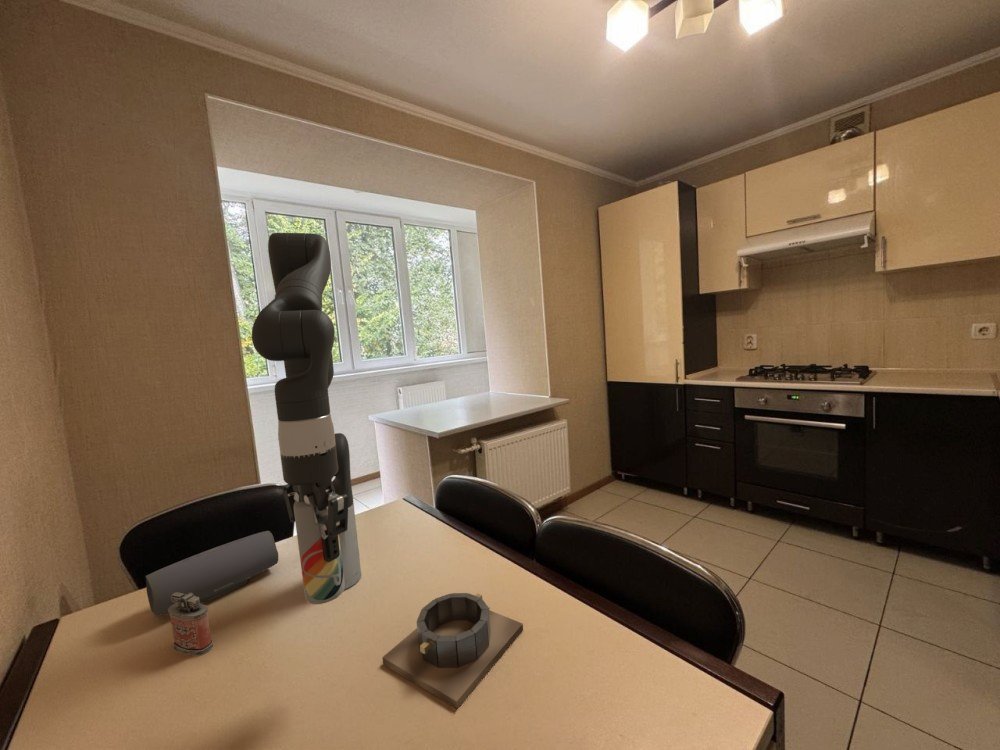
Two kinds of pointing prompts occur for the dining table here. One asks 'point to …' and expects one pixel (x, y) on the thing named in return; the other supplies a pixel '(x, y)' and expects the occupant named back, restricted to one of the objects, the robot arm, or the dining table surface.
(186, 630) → the lighter
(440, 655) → the ring
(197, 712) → the dining table surface
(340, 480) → the robot arm
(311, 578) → the lotion bottle
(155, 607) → the bluetooth speaker
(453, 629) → the base plate
